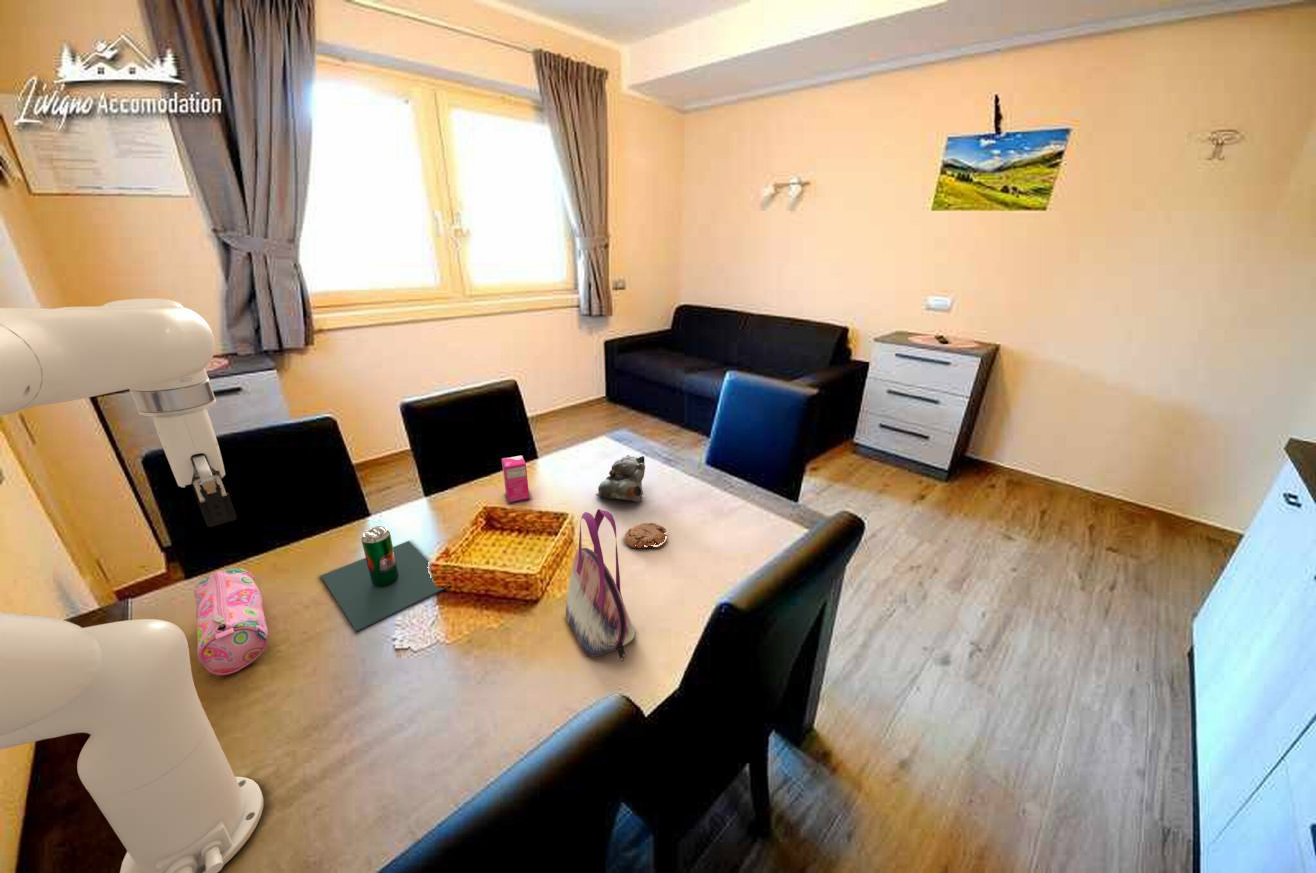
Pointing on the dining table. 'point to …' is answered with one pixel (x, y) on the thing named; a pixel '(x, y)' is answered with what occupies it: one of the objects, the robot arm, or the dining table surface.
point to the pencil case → (229, 621)
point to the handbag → (597, 597)
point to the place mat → (381, 588)
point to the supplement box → (515, 479)
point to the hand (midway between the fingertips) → (216, 509)
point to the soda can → (380, 556)
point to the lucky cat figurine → (624, 480)
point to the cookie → (645, 535)
